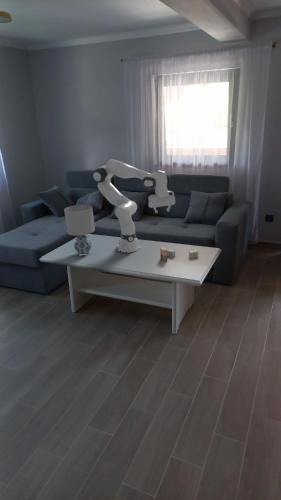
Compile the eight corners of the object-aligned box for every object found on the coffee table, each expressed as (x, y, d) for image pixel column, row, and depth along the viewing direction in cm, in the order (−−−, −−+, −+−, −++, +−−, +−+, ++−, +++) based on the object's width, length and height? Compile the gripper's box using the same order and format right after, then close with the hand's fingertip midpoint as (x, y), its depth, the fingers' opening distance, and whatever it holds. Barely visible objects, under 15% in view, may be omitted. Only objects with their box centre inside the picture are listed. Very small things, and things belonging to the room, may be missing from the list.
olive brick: (190, 258, 257) (190, 252, 256) (189, 257, 260) (188, 251, 258) (198, 256, 259) (198, 251, 258) (196, 255, 262) (196, 250, 260)
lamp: (93, 258, 269) (88, 210, 256) (67, 259, 271) (60, 211, 259) (99, 249, 289) (94, 204, 276) (74, 249, 292) (68, 205, 279)
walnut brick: (160, 259, 260) (160, 253, 258) (164, 258, 261) (163, 252, 259) (163, 261, 254) (163, 255, 253) (167, 260, 255) (167, 255, 254)
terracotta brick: (160, 253, 258) (160, 247, 257) (163, 252, 259) (163, 247, 258) (163, 255, 253) (163, 250, 251) (167, 255, 254) (167, 249, 252)
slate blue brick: (166, 255, 265) (166, 250, 264) (168, 254, 267) (168, 249, 266) (173, 257, 261) (172, 251, 260) (175, 256, 263) (175, 250, 262)
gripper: (149, 195, 244) (150, 214, 249) (176, 192, 250) (176, 211, 255) (146, 194, 250) (147, 213, 255) (172, 191, 256) (172, 209, 261)
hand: (162, 212), depth 255 cm, fingers open, 8 cm apart
